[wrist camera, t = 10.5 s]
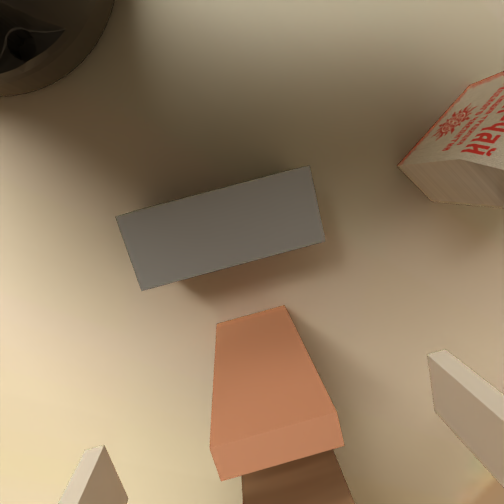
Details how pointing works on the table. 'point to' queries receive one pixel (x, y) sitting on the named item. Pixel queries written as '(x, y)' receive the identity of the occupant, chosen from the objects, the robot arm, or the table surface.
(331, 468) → the walnut tile
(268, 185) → the block
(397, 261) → the table surface
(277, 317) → the terracotta tile
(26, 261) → the table surface
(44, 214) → the table surface
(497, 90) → the beige boxy piece
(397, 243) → the table surface
